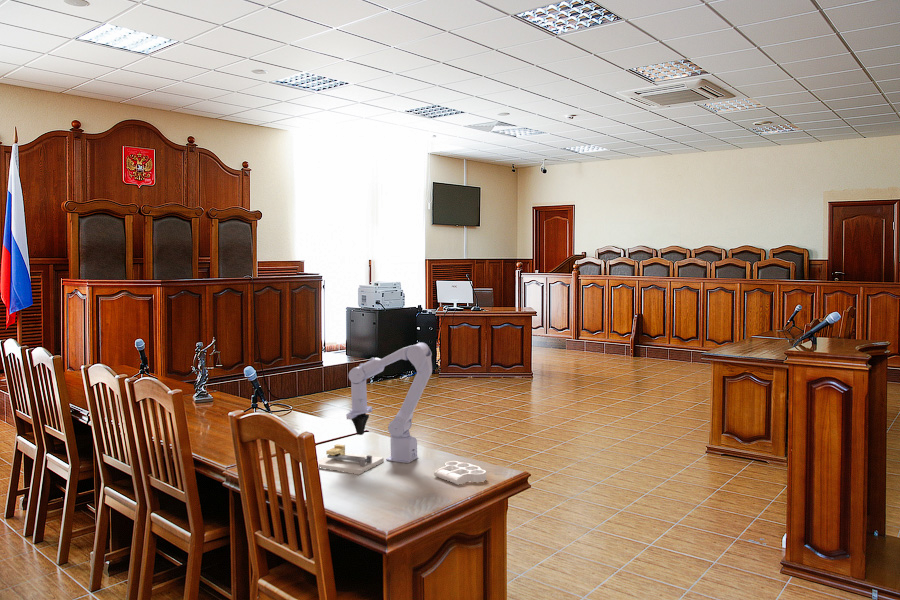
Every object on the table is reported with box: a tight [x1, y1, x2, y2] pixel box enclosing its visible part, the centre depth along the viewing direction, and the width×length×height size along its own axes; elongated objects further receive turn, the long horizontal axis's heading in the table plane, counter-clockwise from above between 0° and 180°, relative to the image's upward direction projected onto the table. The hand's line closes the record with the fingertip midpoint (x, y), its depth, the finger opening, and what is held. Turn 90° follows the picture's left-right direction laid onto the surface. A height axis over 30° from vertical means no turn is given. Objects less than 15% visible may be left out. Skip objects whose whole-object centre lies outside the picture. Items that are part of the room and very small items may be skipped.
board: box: [317, 452, 385, 475], centre depth 238 cm, size 20×16×4 cm
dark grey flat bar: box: [326, 454, 370, 463], centre depth 236 cm, size 16×3×1 cm, turn 64°
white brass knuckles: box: [433, 460, 487, 486], centre depth 223 cm, size 3×18×15 cm
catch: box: [325, 443, 346, 455], centre depth 240 cm, size 4×6×4 cm, turn 154°
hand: (360, 434), depth 248 cm, fingers closed
